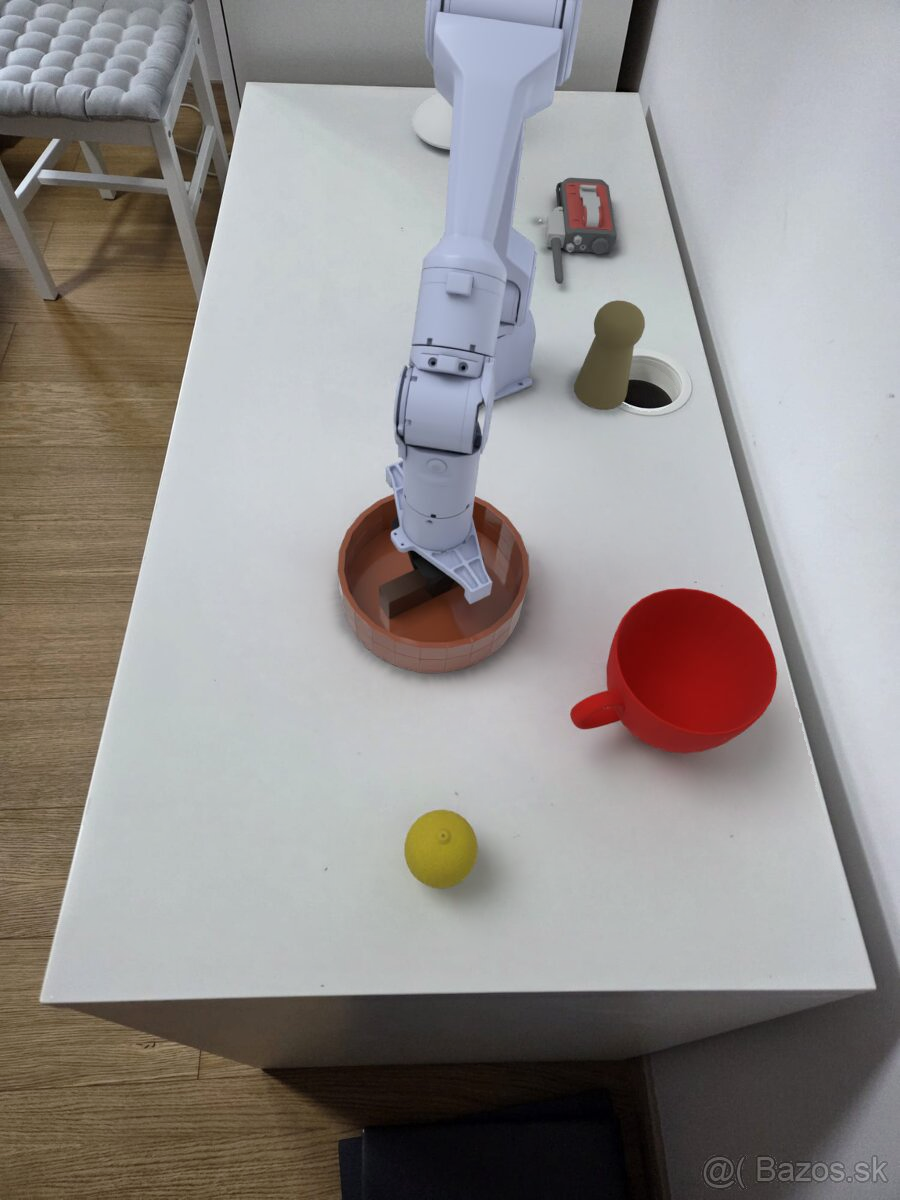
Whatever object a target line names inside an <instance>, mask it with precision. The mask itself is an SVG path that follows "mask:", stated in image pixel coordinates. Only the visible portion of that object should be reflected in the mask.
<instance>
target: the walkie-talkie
mask: <svg viewBox="0 0 900 1200" xmlns="http://www.w3.org/2000/svg"><path fill="white" fill-rule="evenodd" d="M555 186H556V187H555V195H556V196H555V197H556V206H555V207H554V209H553V210H552V211H551V212H550V213H549V214H548V215H547V219H546V225H545V234H546V238H545V247H547V248H550V249H551V252H552V261H553V262H552V263H553V271H554V281H555V282H556V283H557V284H558V285H561V284H563V282H564V271H563V261H562V250H561V249H563V250H564V251H565V252H568V253H572V252H575V253H593V254H596V255H602V254H611V253H612V252H613V249H614V247H615V243H616V240H617V229H616V223H615V217H614V216H615V215H614V210H613V205H612V203H613V202H612V198H611V192H610V191H611V190H610V185H608V184H607V182H605V181H604V180H603V179H600V178H584V177H567V178H565V179H564V180H563V181H559V182H558V183H557V184H556V185H555Z"/></svg>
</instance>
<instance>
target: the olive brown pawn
mask: <svg viewBox="0 0 900 1200" xmlns="http://www.w3.org/2000/svg"><path fill="white" fill-rule="evenodd" d="M645 321H646V320H645V316H644V314H643V312H642V310H641V309H640V308H639V306H637V305H636V304H634V303H632V302H629V301H625V300H611V301H609V302H607V303H605V304H603V306H601V307H600V308H599V309H598V311H597V313H596V315H595V317H594V320H593V332H594V335H595V336H594V337H593V341H592V343H591V345H590V347H589V349H588V352H587V354H586V356H585V358H584V361H583V363H582V366H581V368H580V370H579V372H578V375H577V377H576V379H575V382H574V384H573V392H574V394H575V396H576V398H577V399H578V400H579V401H580V402H581V403H582V404H584V405H586V406H587V407H590V408H592V409H595V410H601V411H602V410H603V411H605V410H612V409H616V408H617V407H619V406H621V405H622V404H623V403H624V402H625V401H626V397H627V394H628V389H629V388H628V387H629V383H630V382H629V381H630V375H631V368H632V361H633V354H634V349H635V345H636V344H637V343H639V341H640V339H641V338H642V336H643V334H644V331H645V328H646V322H645Z"/></svg>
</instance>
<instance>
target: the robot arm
mask: <svg viewBox="0 0 900 1200" xmlns="http://www.w3.org/2000/svg"><path fill="white" fill-rule="evenodd" d="M425 2H426V3H425V16H424V52H425V56H426V58H427V60H428V61H429V62H430V65H431V67H432V68H433V69H432V70H433V81H434V83H433V84H434V88H435V90H436V91H437V93H438V92H439V93H440V94H441V95H442V96H443V97H444V99H445V100H446V101H447V102H448V103H449V104H450V105H451V106H452V107H453V112H452V128H451V143H450V150H449V160H448V161H449V163H448V175H447V176H448V177H447V193H446V205H445V206H446V209H445V211H446V212H445V223H444V232H443V235H442V237H441V238H440V239H439V242H438V243H437V244H436V245H435V246H434V247H432V249H431V250H430V251H428V252H427V253H426V255H425V256H424V257H423V259H422V267H421V272H420V280H419V288H418V295H417V302H416V309H415V317H414V322H413V323H414V324H413V330H412V331H413V332H412V338H411V347H410V353H409V360H408V366H409V367H408V366H407V365H403V367H402V369H401V372H400V375H399V377H398V381H397V385H396V389H395V398H394V405H393V433H394V443H395V444H396V445H397V456H398V458H401V460H399V461H397V462H394V463H391V464H389V465H387V466H385V482H386V483H387V485H388V486H389V487H390V488H391V489H392V493H393V494H394V498H395V503H396V508H397V514H398V517H396V518H395V519H394V520H393V521H392V524H391V528H392V530H393V531H392V532H391V540H392V542H393V543H394V545H395V546H396V548H397V550H398V551H399V552H402V553H404V552H408V555H409V558H410V561H411V564H412V566H413V569H414V570H415V569H417V568H418V569H419V571H420V572H421V574H422V575H423V577H424V578H425V581H426V587H427V590H428V592H429V594H430V595H431V597H432V598H435V597H437V596H439V595H441V594H443V593H445V592H447V591H449V590H451V588H452V586H453V584H454V583H455V581H456V582H458V583H459V584H460V585H461V586H462V587H463V588H464V589H465V594H464V596H465V598H466V599H467V601H468V602H469V604H472V603H474V602H476V601H478V600H480V599H482V598H484V597H486V596H488V595H490V593H491V587H492V581H491V579H490V578H489V576H488V574H487V572H486V570H485V567H484V564H483V559H482V555H481V550H480V547H479V543H478V539H477V534H476V530H475V526H474V522H473V518H472V514H473V506H474V499H475V496H476V490H477V483H478V474H479V467H480V460H481V455H482V454H483V453H484V450H485V449H486V445H487V443H488V439H489V435H490V429H491V422H492V417H493V410H494V403H495V401H498V400H499V399H502V398H505V397H506V396H510V395H512V394H515V393H516V392H520V391H522V390H525V389H527V388H529V387H532V385H533V380H532V378H530V371H531V366H532V360H533V355H534V348H535V344H536V339H537V338H536V337H537V331H536V329H537V328H536V324H535V319H534V316H533V314H532V311H531V310H530V308H531V302H532V301H531V300H532V295H533V290H534V283H535V276H536V270H537V266H536V263H537V257H538V253H537V251H536V245H535V243H534V242H533V241H532V240H530V239H529V238H527V237H526V236H525V235H524V234H523V233H521V232H520V231H518V230H517V229H515V228H514V227H513V225H514V224H513V223H514V216H515V207H516V200H517V192H518V186H519V179H520V178H519V177H520V169H521V162H522V154H523V147H524V138H525V131H526V125H527V124H526V123H527V120H528V119H530V118H531V117H533V116H535V115H537V114H538V113H540V112H542V111H544V110H546V109H547V108H549V107H551V105H552V104H553V102H554V99H555V98H554V97H555V91H556V86H557V87H561V86H562V85H563V83H564V82H566V81H567V80H568V79H570V78H571V74H572V67H573V62H574V56H575V49H576V44H577V40H578V39H577V38H578V32H579V27H580V22H581V21H580V20H581V15H582V8H583V2H584V0H426V1H425ZM482 407H485V410H484V411H485V415H484V422H483V427H482V429H481V425H480V421H479V417H480V416H479V415H480V410H481V408H482Z"/></svg>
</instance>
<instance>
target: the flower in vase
mask: <svg viewBox="0 0 900 1200" xmlns="http://www.w3.org/2000/svg"><path fill="white" fill-rule="evenodd" d="M452 112H453V107H452V106H451V105H450V104H449V103H448V102H447V101H446V100H445V99H444V97H443V96H442V95H441V94H440V93H439V92H438V91H437V92H436V93H434V94H432V95H431V96H429V98H427V99H425V100H424V101H423V102H422V103H421V104H420V105H419V106H418V107H417V108H416V110H415V112H414V114H413V116H412V120H411V121H412V122H411V124H412V128H413V130H414V131H415V133H416V135H417V136H418V137H419V139H421V140H422V141H424V142H425V143H426V144H428V145H430V146H433V147H436V148H438V149H443V150H449V151H450V143H451V128H452Z"/></svg>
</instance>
